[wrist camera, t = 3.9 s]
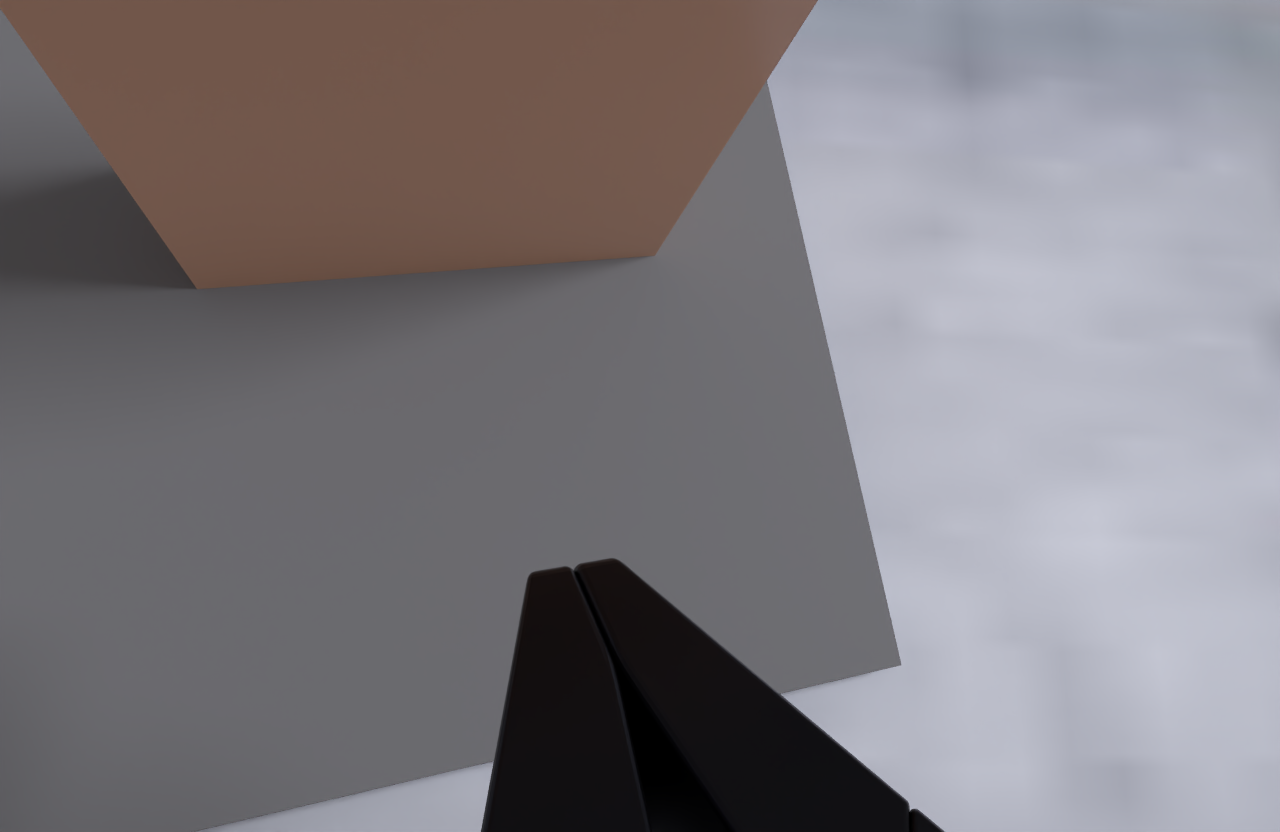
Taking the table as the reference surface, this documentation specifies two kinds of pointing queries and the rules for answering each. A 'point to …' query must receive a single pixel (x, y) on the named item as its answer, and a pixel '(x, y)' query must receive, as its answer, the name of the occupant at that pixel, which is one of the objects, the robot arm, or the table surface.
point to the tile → (406, 123)
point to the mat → (382, 486)
